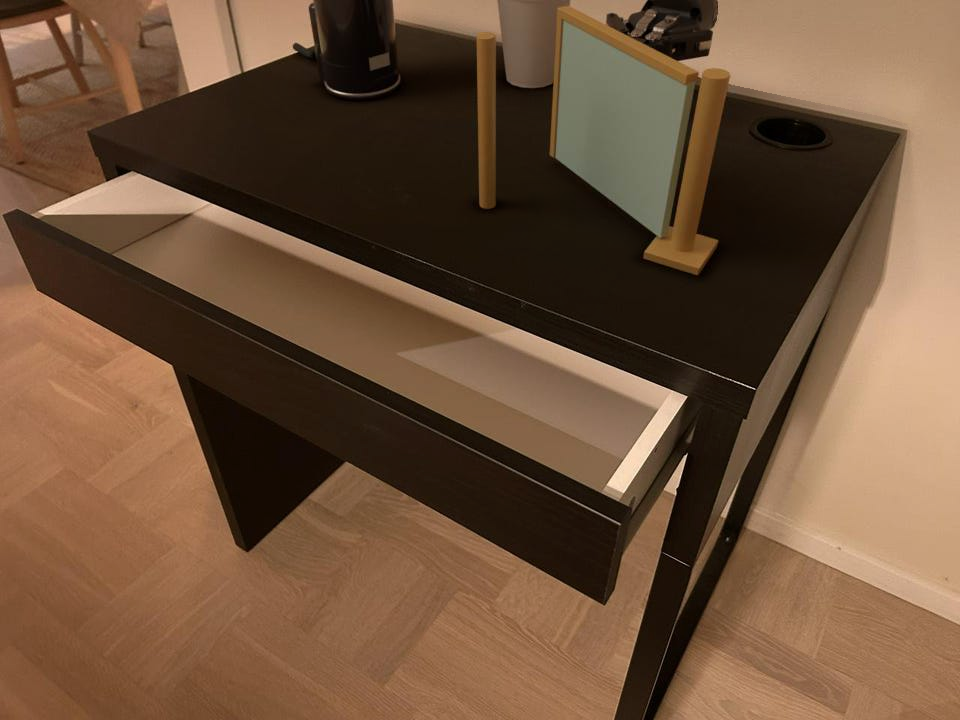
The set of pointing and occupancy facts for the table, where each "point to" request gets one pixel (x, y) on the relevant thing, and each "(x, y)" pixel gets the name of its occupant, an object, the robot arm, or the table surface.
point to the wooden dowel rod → (486, 118)
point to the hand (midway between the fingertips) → (625, 60)
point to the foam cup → (529, 40)
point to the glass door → (620, 116)
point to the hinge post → (694, 183)
